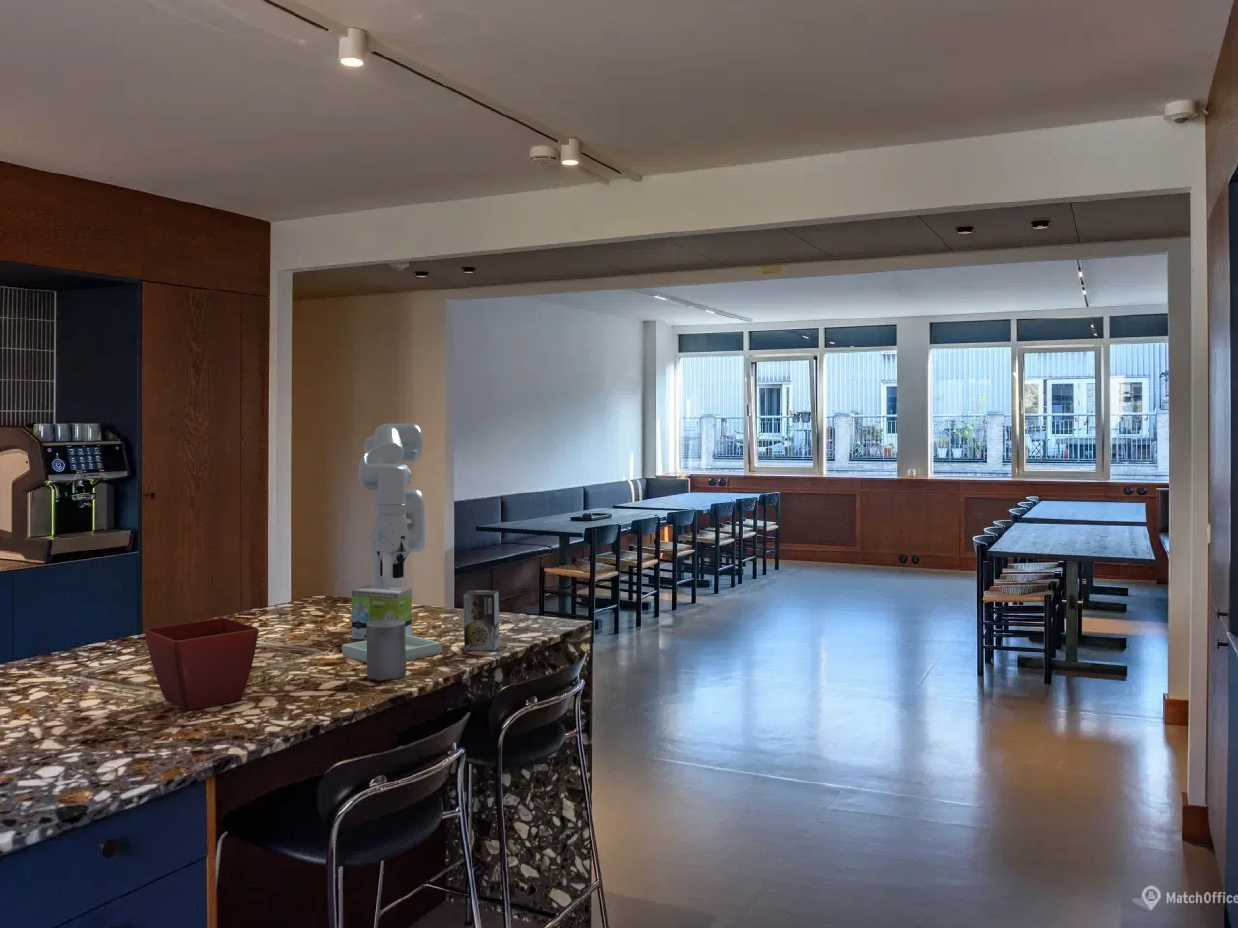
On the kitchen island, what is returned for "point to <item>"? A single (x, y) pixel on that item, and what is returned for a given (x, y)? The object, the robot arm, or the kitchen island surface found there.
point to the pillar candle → (386, 649)
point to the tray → (413, 648)
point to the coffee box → (481, 620)
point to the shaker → (389, 570)
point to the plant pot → (202, 661)
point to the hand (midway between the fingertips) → (391, 575)
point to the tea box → (380, 607)
